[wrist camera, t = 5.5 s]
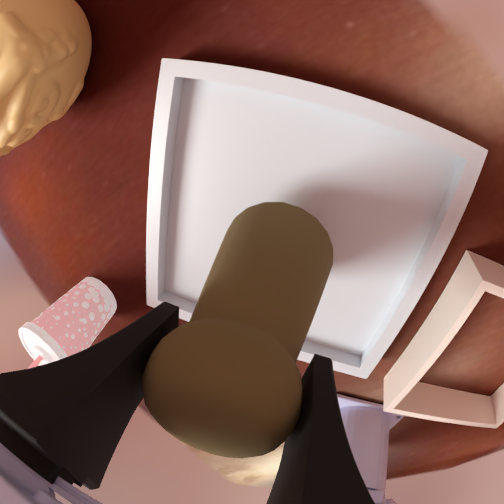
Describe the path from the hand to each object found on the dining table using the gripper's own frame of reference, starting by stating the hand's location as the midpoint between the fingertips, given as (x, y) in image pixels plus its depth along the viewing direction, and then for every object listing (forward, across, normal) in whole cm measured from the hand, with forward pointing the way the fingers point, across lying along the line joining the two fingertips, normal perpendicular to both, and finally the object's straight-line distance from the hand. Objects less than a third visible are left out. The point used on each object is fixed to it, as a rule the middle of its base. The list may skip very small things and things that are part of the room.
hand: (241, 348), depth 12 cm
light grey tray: (+10, 0, 0) cm, 10 cm away
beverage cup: (+11, +16, +13) cm, 23 cm away
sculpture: (+11, +20, -9) cm, 24 cm away
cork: (+7, 0, 0) cm, 7 cm away
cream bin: (+10, -18, +4) cm, 21 cm away
